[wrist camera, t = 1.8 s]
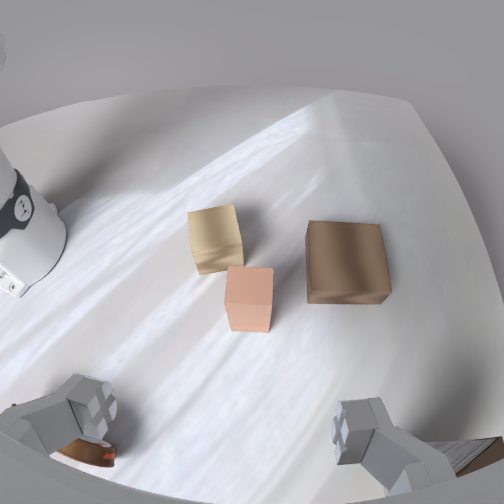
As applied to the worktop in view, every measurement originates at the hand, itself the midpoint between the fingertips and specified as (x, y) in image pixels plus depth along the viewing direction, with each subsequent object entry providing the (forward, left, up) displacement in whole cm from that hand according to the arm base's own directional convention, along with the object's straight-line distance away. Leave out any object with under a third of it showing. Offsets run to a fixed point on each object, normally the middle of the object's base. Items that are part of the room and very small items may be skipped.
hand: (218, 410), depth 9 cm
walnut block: (+12, +19, -25) cm, 34 cm away
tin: (-21, -7, -25) cm, 34 cm away
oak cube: (-5, +21, -25) cm, 33 cm away
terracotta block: (0, +12, -25) cm, 28 cm away
